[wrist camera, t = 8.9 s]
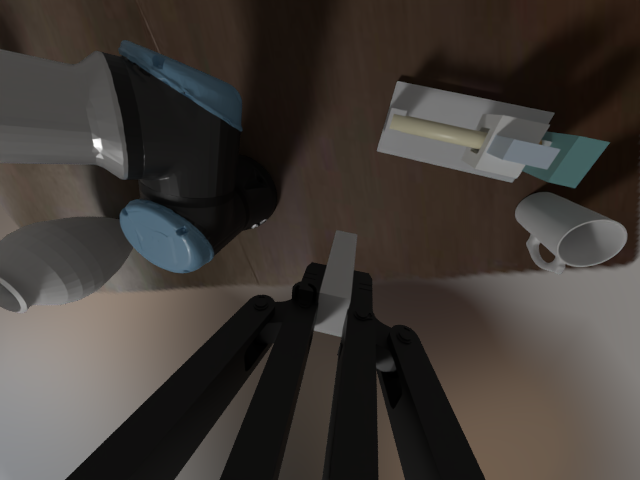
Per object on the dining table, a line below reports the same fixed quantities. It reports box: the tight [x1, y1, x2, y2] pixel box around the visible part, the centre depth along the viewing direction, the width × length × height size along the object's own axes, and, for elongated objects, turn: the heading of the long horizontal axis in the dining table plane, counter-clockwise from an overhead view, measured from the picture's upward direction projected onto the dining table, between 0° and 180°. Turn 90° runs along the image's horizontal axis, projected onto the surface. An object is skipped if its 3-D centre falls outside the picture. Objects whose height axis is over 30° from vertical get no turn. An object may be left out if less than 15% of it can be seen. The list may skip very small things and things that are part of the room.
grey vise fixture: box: [377, 81, 610, 188], centre depth 32 cm, size 22×10×12 cm, turn 79°
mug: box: [515, 192, 627, 274], centre depth 36 cm, size 10×7×12 cm, turn 173°
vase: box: [0, 217, 133, 313], centre depth 53 cm, size 18×18×25 cm
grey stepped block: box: [461, 114, 561, 178], centre depth 28 cm, size 5×6×10 cm
